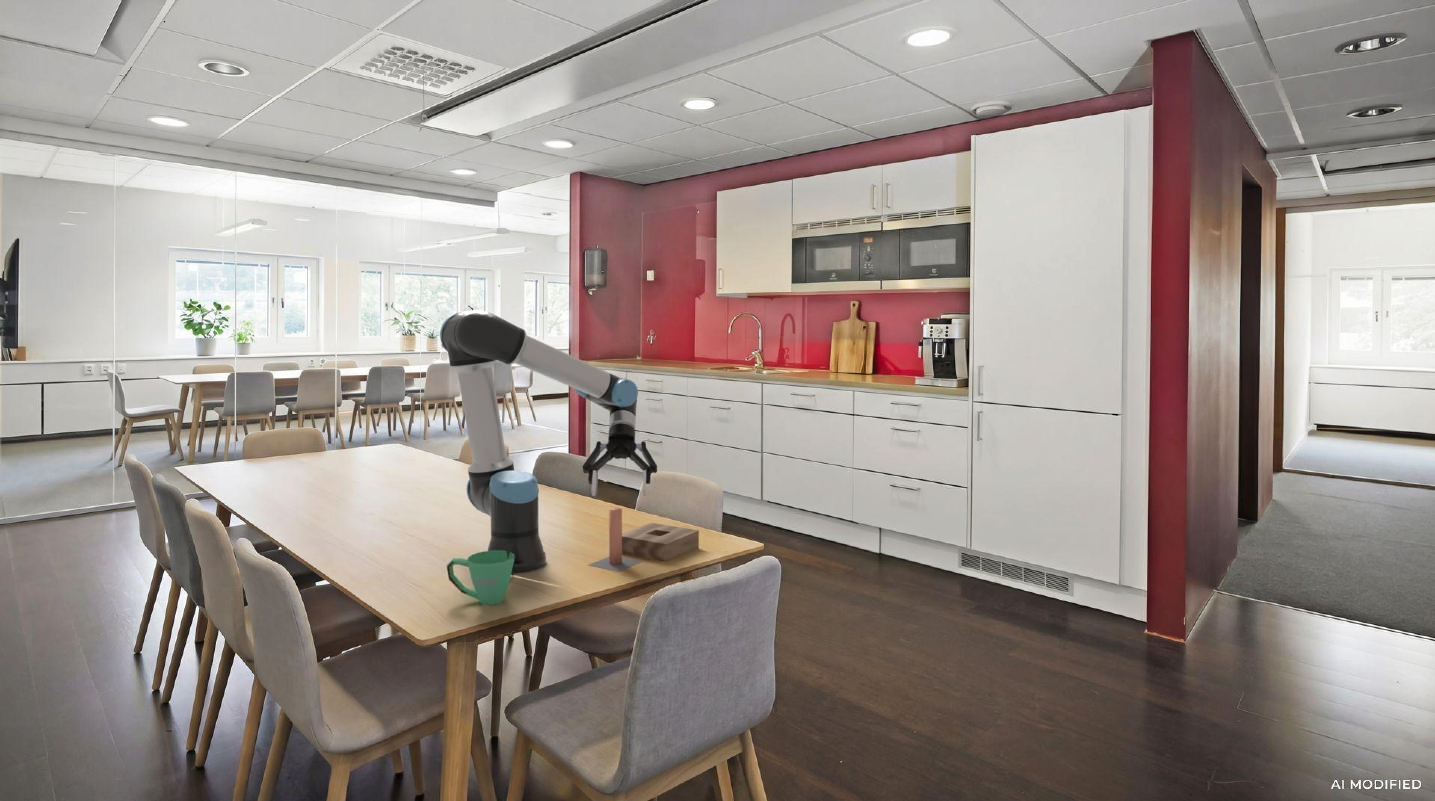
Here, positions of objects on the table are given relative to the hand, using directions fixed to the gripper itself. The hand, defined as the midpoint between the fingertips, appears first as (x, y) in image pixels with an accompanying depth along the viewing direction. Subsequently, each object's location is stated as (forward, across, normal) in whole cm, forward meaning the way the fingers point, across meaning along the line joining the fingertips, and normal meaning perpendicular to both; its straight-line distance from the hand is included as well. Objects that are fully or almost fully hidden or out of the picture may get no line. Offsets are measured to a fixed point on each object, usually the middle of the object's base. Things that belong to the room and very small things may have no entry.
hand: (618, 493), depth 199 cm
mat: (+19, 0, -4) cm, 19 cm away
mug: (+37, +28, +13) cm, 48 cm away
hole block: (+10, -10, -13) cm, 20 cm away
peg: (+19, 0, -4) cm, 19 cm away
